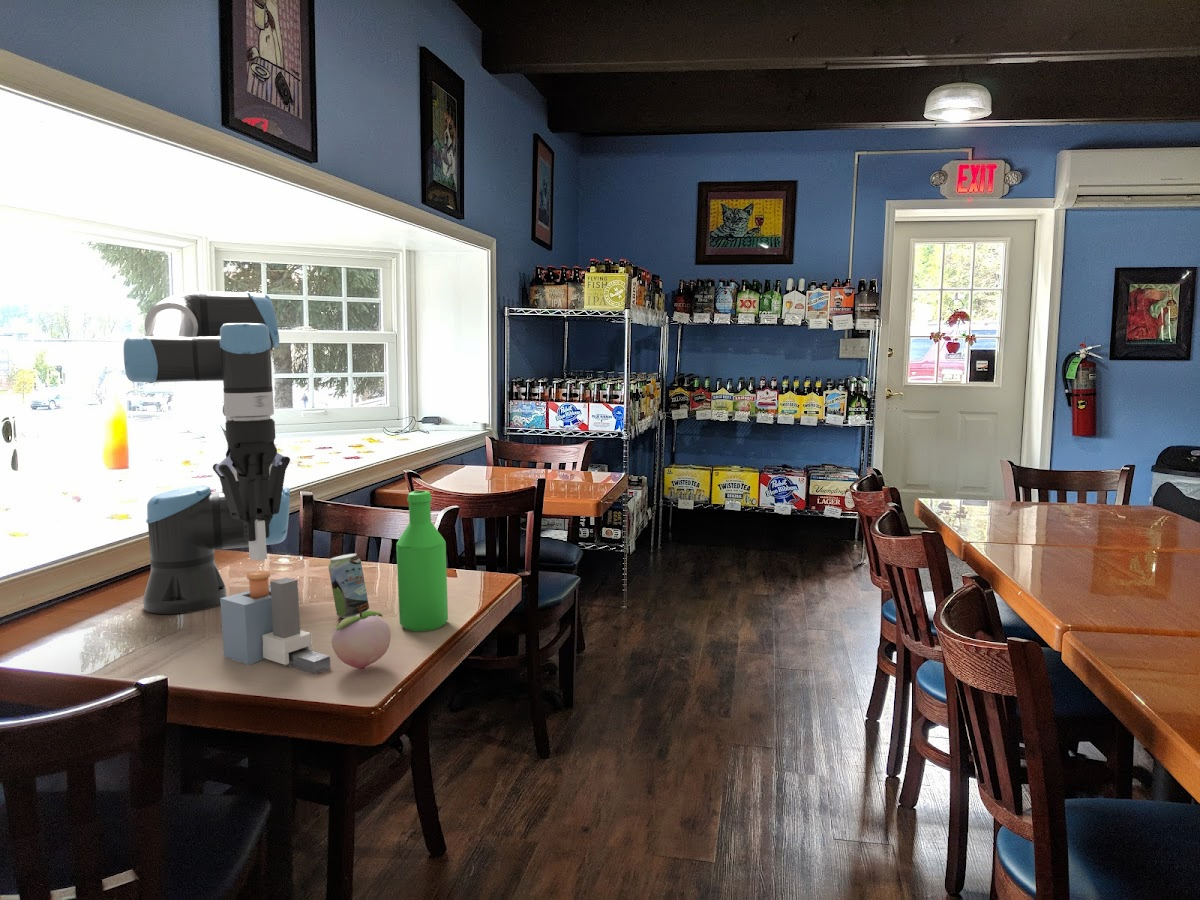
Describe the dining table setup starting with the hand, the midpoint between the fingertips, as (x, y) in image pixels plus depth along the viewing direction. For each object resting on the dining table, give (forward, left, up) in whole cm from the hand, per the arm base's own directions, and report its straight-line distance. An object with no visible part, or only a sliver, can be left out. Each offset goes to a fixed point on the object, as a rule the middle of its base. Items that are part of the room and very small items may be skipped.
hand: (258, 558), depth 143 cm
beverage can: (-4, +21, -16) cm, 27 cm away
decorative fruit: (+21, +4, -16) cm, 27 cm away
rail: (+10, 0, -16) cm, 19 cm away
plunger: (0, 0, -8) cm, 8 cm away
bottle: (+12, +25, -16) cm, 32 cm away
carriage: (+7, 0, -16) cm, 18 cm away
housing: (0, 0, -16) cm, 16 cm away
